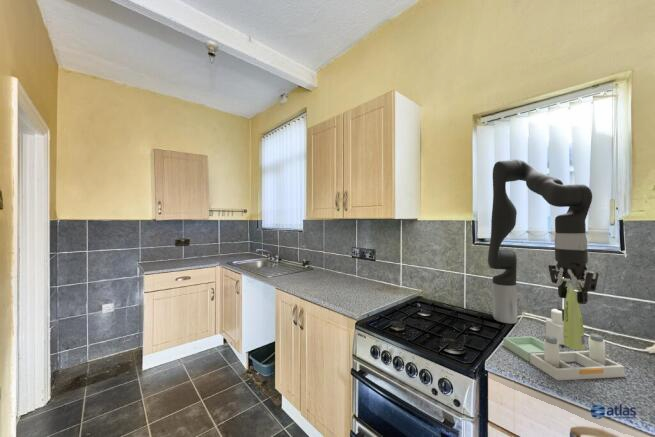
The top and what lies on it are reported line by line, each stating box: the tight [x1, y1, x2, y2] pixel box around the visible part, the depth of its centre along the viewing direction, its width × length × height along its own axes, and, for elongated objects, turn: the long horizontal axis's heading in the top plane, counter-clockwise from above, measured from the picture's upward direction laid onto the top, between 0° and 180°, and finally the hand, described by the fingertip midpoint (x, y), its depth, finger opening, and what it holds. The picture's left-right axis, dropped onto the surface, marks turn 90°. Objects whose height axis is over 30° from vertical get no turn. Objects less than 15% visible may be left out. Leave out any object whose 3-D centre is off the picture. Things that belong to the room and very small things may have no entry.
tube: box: [563, 282, 586, 351], centre depth 81 cm, size 6×5×20 cm
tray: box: [503, 336, 561, 363], centre depth 91 cm, size 11×11×3 cm
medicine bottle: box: [545, 308, 565, 346], centre depth 99 cm, size 7×7×12 cm
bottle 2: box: [588, 333, 607, 366], centre depth 81 cm, size 4×4×10 cm
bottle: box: [543, 335, 560, 369], centre depth 80 cm, size 4×4×10 cm
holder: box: [530, 350, 626, 381], centre depth 80 cm, size 10×21×3 cm, turn 93°
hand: (572, 300), depth 81 cm, fingers closed on tube, 5 cm apart
